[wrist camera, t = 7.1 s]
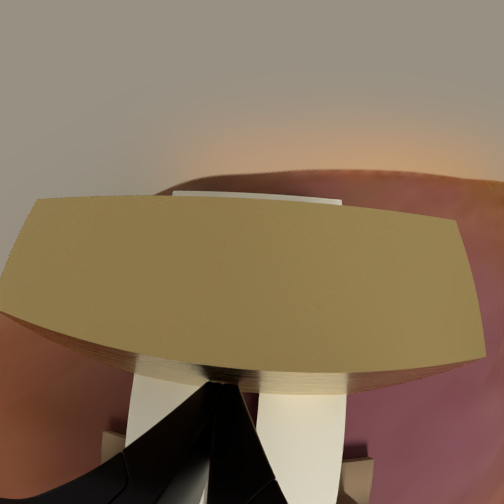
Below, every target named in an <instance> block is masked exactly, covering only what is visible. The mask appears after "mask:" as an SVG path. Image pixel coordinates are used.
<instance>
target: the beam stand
mask: <svg viewBox="0 0 504 504" xmlns="http://www.w3.org/2000/svg"><path fill="white" fill-rule="evenodd" d="M125 443H126V436H125V435H122V434H119V433H116V432H113V431H103V437H102V450H101V464H103V463H104V462H106V461H107V460H109V459H110V458H112V457H113V456H114V455H116V454H117V453H118V452H122V450H123V449H124V448H125ZM373 468H374V459H373V458H371V457H362V458H354V459H344V460H342V463H341V472H340V480H339V487H338V494H337V500H336V504H368V501H369V496H370V489H371V483H372V476H373ZM207 493H208V491H207ZM206 504H207V502H206Z"/></svg>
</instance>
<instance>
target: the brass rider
mask: <svg viewBox="0 0 504 504" xmlns="http://www.w3.org/2000/svg"><path fill="white" fill-rule="evenodd" d="M0 313H2V314H3V315H5V316H7V317H8V318H10V319H12V320H14V321H15V322H17V323H19V324H21V325H22V326H24V327H26V328H28V329H30V330H32V331H34V332H35V333H37V334H39V335H41V336H43V337H45V338H47V339H49V340H51V341H53V342H56V343H58V344H60V345H62V346H64V347H66V348H69V349H71V350H73V351H75V352H78V353H80V354H82V355H85V356H87V357H90V358H92V359H95V360H97V361H100V362H102V363H105V364H108V365H110V366H113V367H116V368H119V369H121V370H124V371H127V372H130V373H133V374H137V375H141V376H146V377H150V378H155V379H160V380H165V381H170V382H175V383H181V384H187V385H193V386H199V387H201V386H202V385H203V384H205V383H206V382H207V381H213V382H221V383H222V384H224V383H230V384H237V385H239V387H240V389H241V392H251V393H264V394H283V395H347V394H353V393H359V392H364V391H370V390H375V389H380V388H385V387H389V386H394V385H398V384H402V383H406V382H410V381H414V380H418V379H422V378H425V377H429V376H432V375H436V374H439V373H442V372H445V371H448V370H451V369H454V368H457V367H460V366H463V365H466V364H469V363H471V362H474V361H477V360H479V359H482V358H484V357H486V351H485V341H484V334H483V327H482V320H481V314H480V309H479V303H478V298H477V294H476V289H475V285H474V281H473V276H472V273H471V269H470V265H469V261H468V258H467V254H466V251H465V248H464V245H463V241H462V238H461V235H460V232H459V229H458V227H457V224H456V221H455V220H449V219H443V218H437V217H431V216H424V215H417V214H410V213H403V212H395V211H388V210H380V209H371V208H363V207H353V206H344V205H334V204H323V203H312V202H299V201H286V200H271V199H254V198H234V197H208V196H91V197H67V198H49V199H37V201H36V202H35V204H34V206H33V208H32V209H31V211H30V213H29V215H28V217H27V219H26V221H25V223H24V225H23V227H22V229H21V231H20V233H19V235H18V237H17V239H16V241H15V244H14V246H13V248H12V250H11V253H10V255H9V257H8V260H7V262H6V265H5V267H4V270H3V272H2V275H1V278H0Z"/></svg>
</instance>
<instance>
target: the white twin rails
mask: <svg viewBox="0 0 504 504" xmlns="http://www.w3.org/2000/svg"><path fill="white" fill-rule="evenodd" d="M172 196H208V197H234V198H254V199H271V200H286V201H299V202H312V203H323V204H334V205H342V201H341V200H336V199H326V198H315V197H303V196H290V195H276V194H259V193H239V192H213V191H173V193H172ZM199 388H200V387H199V386H193V385H187V384H181V383H175V382H170V381H165V380H160V379H155V378H150V377H146V376H141V375H137V374H134V380H133V386H132V393H131V400H130V407H129V415H128V423H127V433H126V443H125V447H127V446H128V445H129V444H131V443H132V442H133V441H135V440H136V439H137V438H139V437H140V436H141V435H143V434H144V433H145V432H146V431H148V430H149V429H150V428H152V427H153V426H154V425H155V424H157V423H158V422H159V421H160V420H162V419H163V418H164V417H165V416H167V415H168V414H169V413H170V412H171V411H173V410H174V409H175V408H176V407H178V406H179V405H180V404H181V403H182V402H184V401H185V400H186V399H187V398H188V397H189V396H191V395H192V394H193V393H194V392H195V391H196V390H198V389H199ZM345 415H346V395H283V394H264V393H259V403H258V414H257V425H256V431H257V434H258V436H259V439H260V441H261V444H262V446H263V449H264V451H265V454H266V456H267V458H268V461H269V463H270V465H271V468H272V470H273V472H274V475H275V477H276V479H275V480H277V481H278V483H279V486H280V488H281V490H282V492H283V494H284V496H285V498H286V500H287V502H288V504H336V500H337V494H338V487H339V480H340V472H341V463H342V454H343V443H344V430H345ZM207 491H208V480H207V483H206V486H205V489H204V492H203V495H202V498H201V500H200V503H199V504H206V502H207Z"/></svg>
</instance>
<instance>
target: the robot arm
mask: <svg viewBox="0 0 504 504" xmlns="http://www.w3.org/2000/svg"><path fill="white" fill-rule="evenodd" d="M275 479H276V477H275V475H274V472H273V470H272V468H271V465H270V463H269V461H268V458H267V456H266V454H265V451H264V449H263V446H262V444H261V441H260V439H259V436H258V434H257V431H256V429H255V426H254V424H253V421H252V419H251V416H250V414H249V411H248V408H247V406H246V403H245V400H244V398H243V395H242V392H241V389H240V387H239V385H237V384H230V383H224V384H222V383H221V382H213V381H207V382H206V383H205V384H203V385H202V386H201V387H200V388H199V389H198V390H196V391H195V392H194V393H193V394H192V395H191V396H189V397H188V398H187V399H186V400H185V401H184V402H182V403H181V404H180V405H179V406H178V407H176V408H175V409H174V410H173V411H171V412H170V413H169V414H168V415H167V416H165V417H164V418H163V419H162V420H160V421H159V422H158V423H157V424H155V425H154V426H153V427H152V428H150V429H149V430H148V431H146V432H145V433H144V434H143V435H141V436H140V437H139V438H137V439H136V440H135V441H133V442H132V443H131V444H129V445H128V446H127V447H125V448H124V449H123V450H122V452H118V453H117V454H116V455H114V456H113V457H112V458H110V459H109V460H107V461H106V462H104V463H103V464H101V465H100V466H98V467H96V468H95V469H93V470H91V471H90V472H88V473H86V474H84V475H82V476H80V477H78V478H76V479H74V480H72V481H70V482H68V483H66V484H64V485H61V486H59V487H57V488H54V489H52V490H50V491H47V492H45V493H42V494H40V495H37V496H34V497H30V498H24V499H7V498H0V504H199V503H200V500H201V498H202V495H203V492H204V489H205V486H206V483H207V480H208V493H207V504H288V502H287V500H286V498H285V496H284V494H283V492H282V490H281V488H280V486H279V483H278V481H277V480H275Z"/></svg>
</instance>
